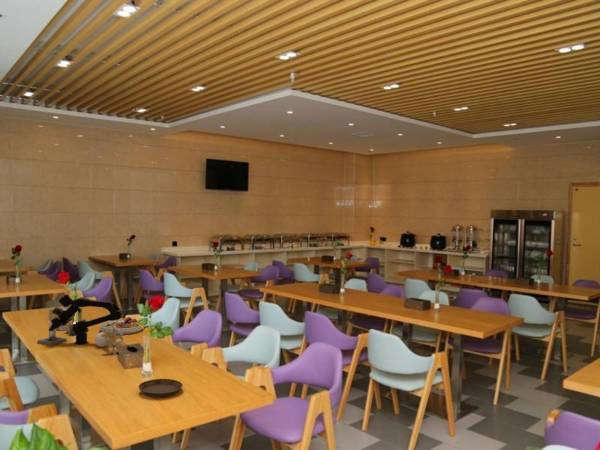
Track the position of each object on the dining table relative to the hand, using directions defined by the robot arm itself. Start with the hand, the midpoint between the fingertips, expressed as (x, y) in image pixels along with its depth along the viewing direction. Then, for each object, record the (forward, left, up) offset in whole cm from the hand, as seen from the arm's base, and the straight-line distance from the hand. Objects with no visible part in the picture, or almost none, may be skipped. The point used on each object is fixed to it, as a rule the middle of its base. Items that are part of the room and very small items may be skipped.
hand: (52, 329), depth 328 cm
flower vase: (-43, -4, -9) cm, 44 cm away
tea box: (+23, -34, -9) cm, 42 cm away
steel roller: (0, 0, -9) cm, 9 cm away
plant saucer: (-118, +40, -9) cm, 125 cm away
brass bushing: (+11, -24, -9) cm, 28 cm away
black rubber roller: (+4, -21, -9) cm, 23 cm away
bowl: (-14, -48, -9) cm, 51 cm away
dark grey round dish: (0, 0, -9) cm, 9 cm away
